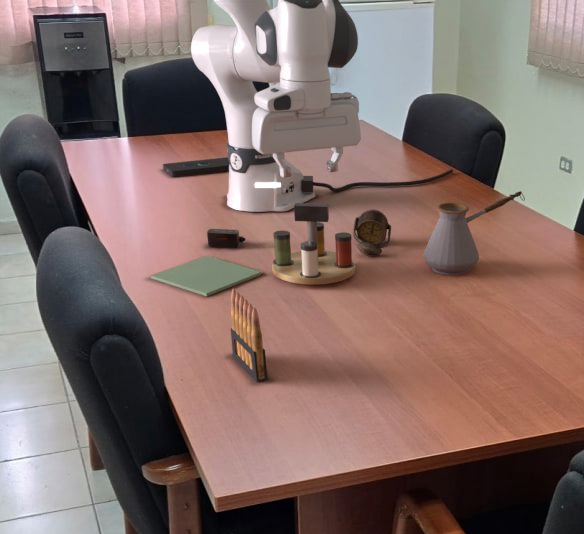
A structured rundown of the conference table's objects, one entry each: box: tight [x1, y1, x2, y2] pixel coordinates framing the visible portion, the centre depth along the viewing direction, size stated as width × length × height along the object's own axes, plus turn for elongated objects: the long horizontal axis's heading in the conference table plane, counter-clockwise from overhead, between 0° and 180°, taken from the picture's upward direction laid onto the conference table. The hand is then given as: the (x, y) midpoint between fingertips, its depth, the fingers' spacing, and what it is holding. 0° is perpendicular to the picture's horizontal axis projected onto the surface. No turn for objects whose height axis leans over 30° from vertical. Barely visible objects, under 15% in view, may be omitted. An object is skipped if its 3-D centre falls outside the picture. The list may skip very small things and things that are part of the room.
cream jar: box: [300, 240, 318, 276], centre depth 182 cm, size 3×3×6 cm
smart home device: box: [162, 156, 230, 178], centre depth 252 cm, size 8×2×20 cm
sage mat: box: [150, 255, 263, 297], centre depth 186 cm, size 15×15×1 cm
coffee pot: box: [422, 190, 526, 276], centre depth 193 cm, size 21×12×15 cm, turn 112°
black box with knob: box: [206, 228, 246, 249], centre depth 201 cm, size 5×7×3 cm, turn 89°
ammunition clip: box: [230, 288, 269, 383], centre depth 150 cm, size 11×2×12 cm, turn 32°
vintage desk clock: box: [352, 209, 392, 257], centre depth 203 cm, size 7×13×10 cm
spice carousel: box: [271, 202, 356, 285], centre depth 186 cm, size 16×16×13 cm
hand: (309, 173), depth 175 cm, fingers open, 8 cm apart
